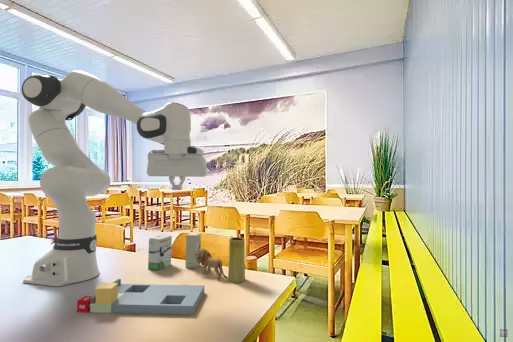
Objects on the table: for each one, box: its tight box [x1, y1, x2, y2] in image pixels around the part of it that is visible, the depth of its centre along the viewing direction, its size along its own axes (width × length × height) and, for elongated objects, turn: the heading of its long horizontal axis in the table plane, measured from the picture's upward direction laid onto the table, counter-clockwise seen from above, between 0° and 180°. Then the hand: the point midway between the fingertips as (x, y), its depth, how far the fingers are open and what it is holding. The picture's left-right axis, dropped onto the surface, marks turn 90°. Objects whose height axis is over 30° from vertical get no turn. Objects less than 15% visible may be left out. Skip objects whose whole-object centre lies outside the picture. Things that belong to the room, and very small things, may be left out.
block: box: [95, 282, 118, 304], centre depth 76 cm, size 4×4×4 cm
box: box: [185, 232, 202, 269], centre depth 113 cm, size 5×4×13 cm
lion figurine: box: [195, 248, 228, 281], centre depth 102 cm, size 15×5×9 cm, turn 57°
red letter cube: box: [76, 295, 94, 314], centre depth 75 cm, size 3×3×3 cm
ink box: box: [147, 234, 173, 271], centre depth 112 cm, size 9×5×12 cm, turn 161°
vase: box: [227, 236, 246, 284], centre depth 98 cm, size 6×6×14 cm
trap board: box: [89, 278, 205, 316], centre depth 80 cm, size 27×14×4 cm, turn 88°
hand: (176, 189), depth 98 cm, fingers closed
